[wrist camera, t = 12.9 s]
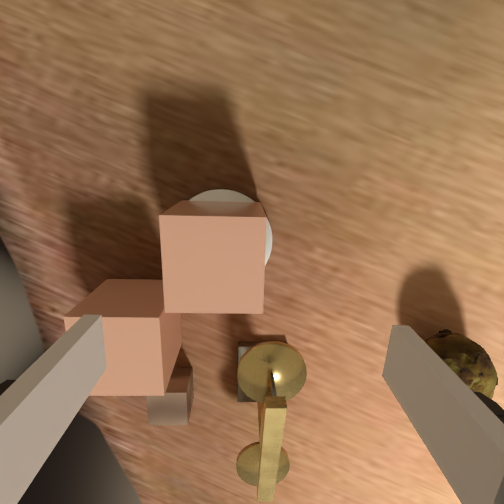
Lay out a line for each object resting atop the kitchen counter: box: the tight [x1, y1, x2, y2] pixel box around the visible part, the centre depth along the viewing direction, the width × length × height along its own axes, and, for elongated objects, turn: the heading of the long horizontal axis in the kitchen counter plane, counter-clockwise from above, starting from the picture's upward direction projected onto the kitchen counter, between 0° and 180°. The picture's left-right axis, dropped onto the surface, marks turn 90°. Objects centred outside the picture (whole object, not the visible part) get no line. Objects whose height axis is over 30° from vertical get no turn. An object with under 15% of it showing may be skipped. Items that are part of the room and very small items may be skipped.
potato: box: [425, 329, 498, 400], centre depth 36 cm, size 8×13×8 cm, turn 14°
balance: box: [236, 341, 307, 501], centre depth 33 cm, size 21×6×15 cm, turn 179°
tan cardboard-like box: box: [64, 279, 182, 396], centre depth 33 cm, size 8×8×9 cm
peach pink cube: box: [159, 200, 267, 314], centre depth 29 cm, size 8×8×9 cm
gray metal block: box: [146, 368, 194, 425], centre depth 38 cm, size 4×4×4 cm
